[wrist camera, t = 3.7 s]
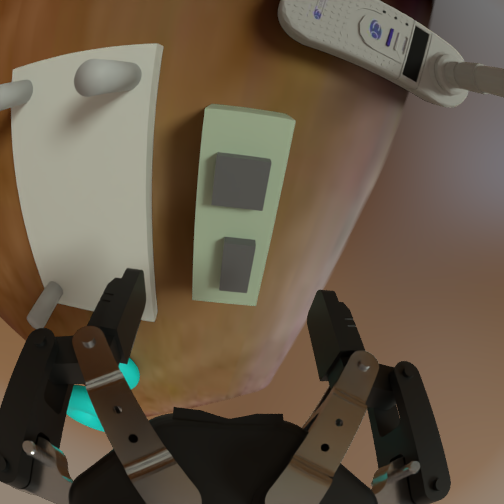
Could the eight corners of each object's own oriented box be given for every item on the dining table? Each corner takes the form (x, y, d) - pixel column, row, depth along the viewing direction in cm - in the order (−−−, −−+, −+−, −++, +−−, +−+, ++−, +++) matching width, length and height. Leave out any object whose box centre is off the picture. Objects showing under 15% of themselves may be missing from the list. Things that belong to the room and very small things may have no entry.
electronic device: (315, -88, 3) (544, 78, 5) (287, -21, 11) (456, 63, 14) (285, -6, 6) (528, 149, 8) (268, 36, 14) (442, 113, 16)
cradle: (24, 68, 12) (-30, 77, 7) (163, 46, 14) (127, 31, 8) (54, 292, 25) (30, 334, 20) (157, 311, 27) (144, 363, 22)
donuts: (130, 424, 23) (126, 441, 28) (146, 353, 31) (137, 384, 36) (48, 391, 21) (60, 417, 26) (75, 326, 29) (78, 362, 34)
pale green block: (212, 103, 17) (203, 109, 13) (285, 113, 17) (298, 122, 13) (198, 268, 24) (191, 307, 20) (253, 274, 25) (256, 313, 21)
